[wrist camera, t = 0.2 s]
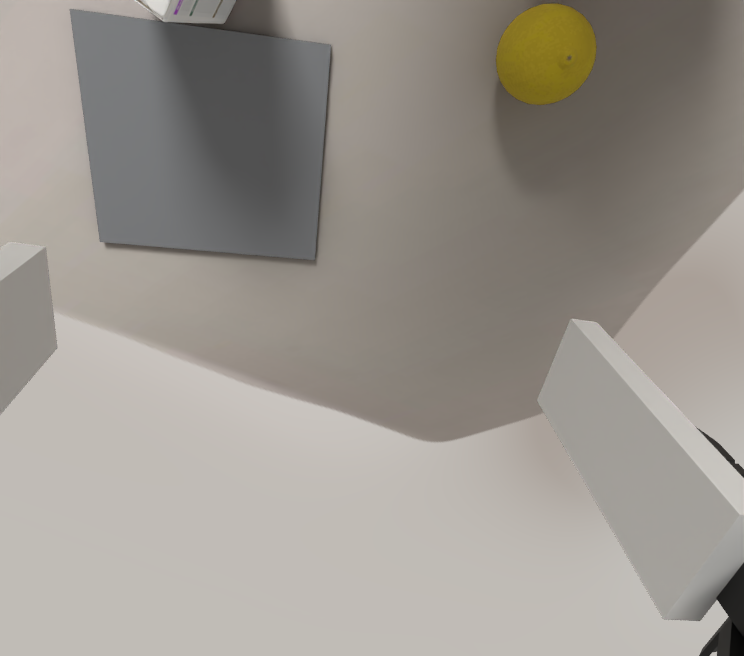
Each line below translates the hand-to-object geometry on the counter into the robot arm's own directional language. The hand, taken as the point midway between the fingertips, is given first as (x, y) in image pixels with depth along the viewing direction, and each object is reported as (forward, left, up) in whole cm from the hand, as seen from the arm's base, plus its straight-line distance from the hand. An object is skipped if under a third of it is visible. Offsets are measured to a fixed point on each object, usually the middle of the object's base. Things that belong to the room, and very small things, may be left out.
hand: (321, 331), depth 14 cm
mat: (+1, -8, -28) cm, 29 cm away
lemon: (-7, +13, -28) cm, 32 cm away
